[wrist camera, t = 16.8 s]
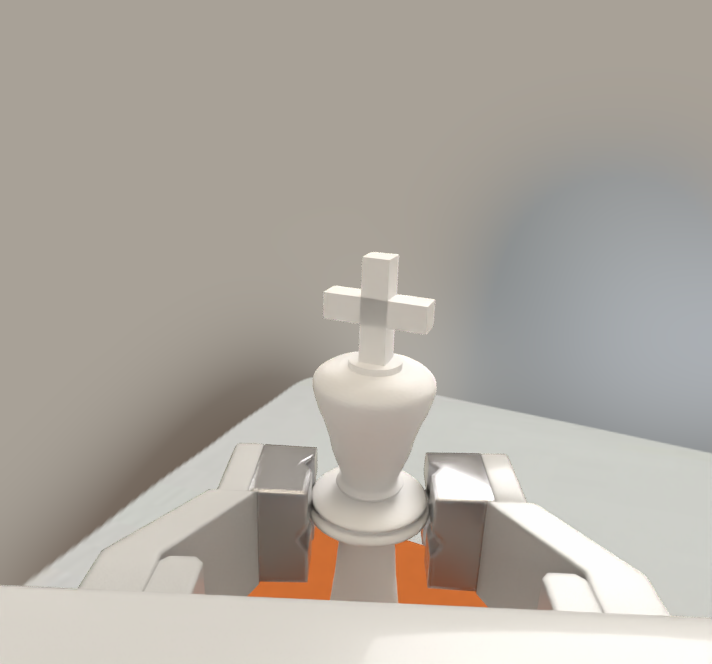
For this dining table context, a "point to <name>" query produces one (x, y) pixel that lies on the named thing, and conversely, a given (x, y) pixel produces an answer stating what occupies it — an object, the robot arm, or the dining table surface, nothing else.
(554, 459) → the dining table surface
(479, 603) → the cloth mat
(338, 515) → the chess piece
